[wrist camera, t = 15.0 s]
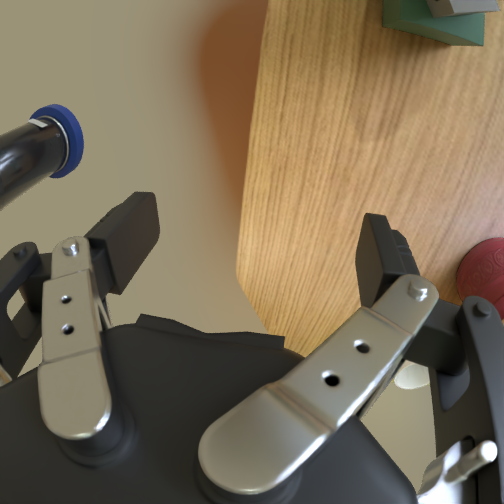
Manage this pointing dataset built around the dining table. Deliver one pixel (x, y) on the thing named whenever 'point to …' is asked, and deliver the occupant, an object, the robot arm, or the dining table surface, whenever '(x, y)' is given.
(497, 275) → the kitchen canister
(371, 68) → the dining table surface
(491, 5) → the dice cube
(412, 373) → the white cup
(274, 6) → the dining table surface
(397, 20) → the green block
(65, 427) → the robot arm
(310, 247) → the dining table surface
